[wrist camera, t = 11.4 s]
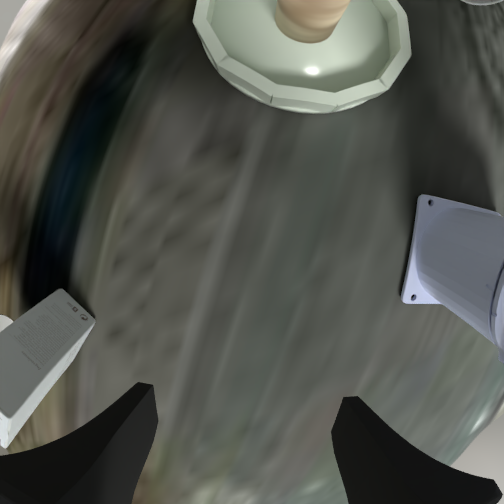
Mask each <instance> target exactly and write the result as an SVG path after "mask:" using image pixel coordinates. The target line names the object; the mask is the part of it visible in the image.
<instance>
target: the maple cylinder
mask: <svg viewBox="0 0 504 504" xmlns="http://www.w3.org/2000/svg"><path fill="white" fill-rule="evenodd" d="M350 1H351V0H277V6H276V13H275V22H276V25H277V27H278V28H279V30H280V31H281V32H282V33H283V34H284V35H285V36H287V37H288V38H290V39H292V40H294V41H297V42H301V43H308V44H312V43H319V42H322V41H324V40H326V39H328V38H329V37H330V36H331V34H332V33H333V31H334V29H335V27H336V25H337V24H338V22H339V20H340V19H341V17H342V15H343V13H344V12H345V10H346V8H347V6H348V5H349V3H350Z"/></svg>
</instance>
